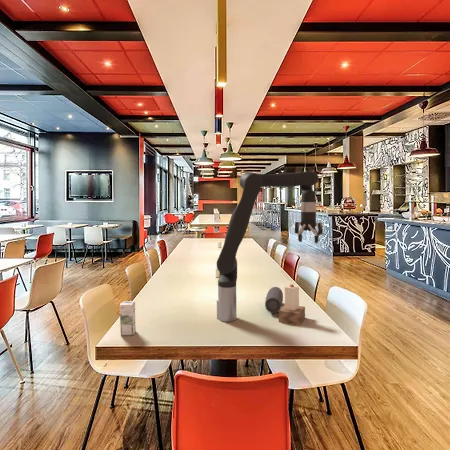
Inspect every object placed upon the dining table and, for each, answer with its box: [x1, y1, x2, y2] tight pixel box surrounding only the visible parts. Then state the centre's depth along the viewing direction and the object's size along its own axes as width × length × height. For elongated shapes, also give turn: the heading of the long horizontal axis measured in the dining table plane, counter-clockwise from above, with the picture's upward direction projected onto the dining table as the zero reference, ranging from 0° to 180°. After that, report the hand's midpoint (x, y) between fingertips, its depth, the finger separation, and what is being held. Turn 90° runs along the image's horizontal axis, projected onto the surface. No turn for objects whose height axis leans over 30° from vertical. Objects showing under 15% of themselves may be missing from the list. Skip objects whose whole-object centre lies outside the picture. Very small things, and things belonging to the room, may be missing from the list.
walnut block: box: [278, 303, 306, 326], centre depth 173 cm, size 11×11×6 cm
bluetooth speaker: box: [264, 286, 284, 314], centre depth 191 cm, size 23×9×10 cm, turn 168°
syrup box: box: [119, 300, 137, 337], centre depth 157 cm, size 6×6×14 cm
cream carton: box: [284, 283, 300, 311], centre depth 173 cm, size 5×5×12 cm
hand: (308, 242), depth 178 cm, fingers open, 8 cm apart
